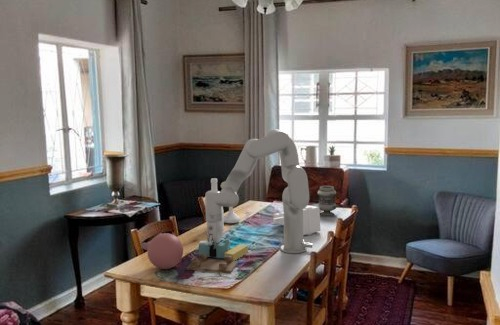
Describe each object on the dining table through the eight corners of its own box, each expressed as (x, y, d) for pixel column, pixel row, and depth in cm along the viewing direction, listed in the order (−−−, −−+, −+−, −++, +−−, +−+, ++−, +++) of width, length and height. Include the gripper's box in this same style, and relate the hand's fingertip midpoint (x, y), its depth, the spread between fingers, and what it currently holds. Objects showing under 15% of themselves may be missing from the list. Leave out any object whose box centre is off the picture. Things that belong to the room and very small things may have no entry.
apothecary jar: (317, 212, 292) (317, 184, 289) (336, 212, 290) (336, 185, 288) (317, 216, 280) (317, 188, 278) (337, 217, 278) (337, 188, 276)
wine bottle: (216, 234, 245) (214, 180, 241) (203, 231, 251) (201, 179, 247) (227, 230, 253) (226, 178, 249) (214, 228, 259) (213, 176, 254)
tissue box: (295, 223, 272) (328, 230, 249) (262, 230, 258) (294, 239, 235) (294, 199, 271) (327, 204, 248) (261, 205, 257) (293, 211, 234)
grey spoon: (244, 221, 272) (243, 180, 269) (233, 225, 262) (232, 183, 259) (226, 218, 279) (225, 179, 275) (215, 223, 269) (214, 181, 266)
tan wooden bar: (247, 253, 215) (247, 245, 215) (233, 263, 203) (232, 254, 203) (239, 252, 218) (239, 244, 217) (224, 261, 205) (224, 253, 205)
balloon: (153, 258, 210) (151, 226, 207) (190, 264, 202) (189, 231, 199) (132, 270, 196) (130, 235, 193) (171, 276, 188) (169, 241, 186)
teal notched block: (230, 255, 213) (229, 238, 211) (228, 258, 208) (227, 241, 207) (201, 253, 215) (201, 236, 214) (199, 257, 211) (198, 239, 210)
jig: (238, 263, 202) (237, 255, 202) (231, 273, 190) (230, 265, 190) (195, 260, 206) (195, 252, 206) (186, 269, 195) (186, 262, 194)
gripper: (216, 222, 200) (217, 261, 203) (226, 213, 216) (227, 249, 219) (200, 221, 202) (201, 260, 204) (211, 212, 218) (212, 248, 221)
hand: (214, 254), depth 212 cm, fingers closed on teal notched block, 4 cm apart
